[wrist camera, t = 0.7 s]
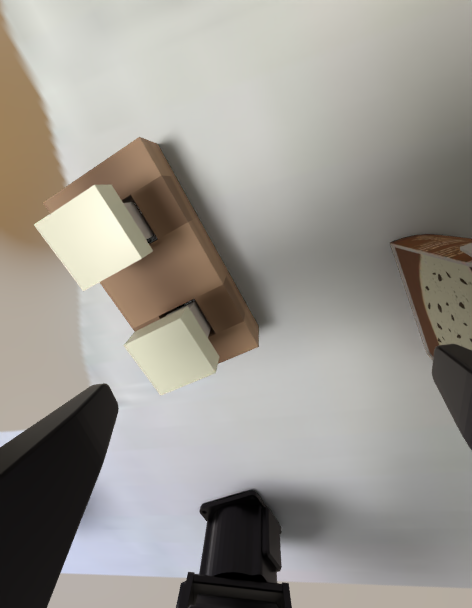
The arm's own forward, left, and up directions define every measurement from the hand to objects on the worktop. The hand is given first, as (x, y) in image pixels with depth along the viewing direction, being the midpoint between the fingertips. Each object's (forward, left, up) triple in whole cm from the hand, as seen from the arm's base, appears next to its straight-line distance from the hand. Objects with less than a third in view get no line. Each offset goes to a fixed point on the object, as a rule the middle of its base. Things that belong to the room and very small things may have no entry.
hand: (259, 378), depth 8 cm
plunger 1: (-6, +6, -11) cm, 14 cm away
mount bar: (-6, +2, -14) cm, 15 cm away
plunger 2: (-6, -1, -11) cm, 13 cm away
